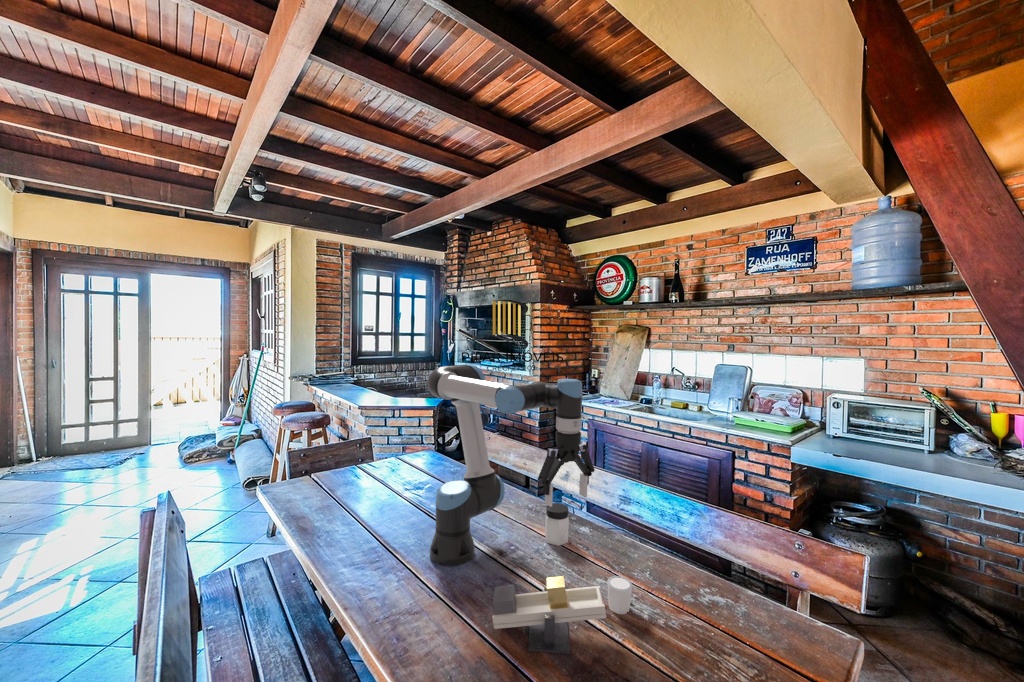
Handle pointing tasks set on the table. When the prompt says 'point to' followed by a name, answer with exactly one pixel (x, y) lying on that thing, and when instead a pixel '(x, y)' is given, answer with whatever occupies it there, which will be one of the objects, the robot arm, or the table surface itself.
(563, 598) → the rider
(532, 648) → the stand
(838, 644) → the table surface
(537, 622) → the beam
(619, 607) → the shot glass
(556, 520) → the jar
